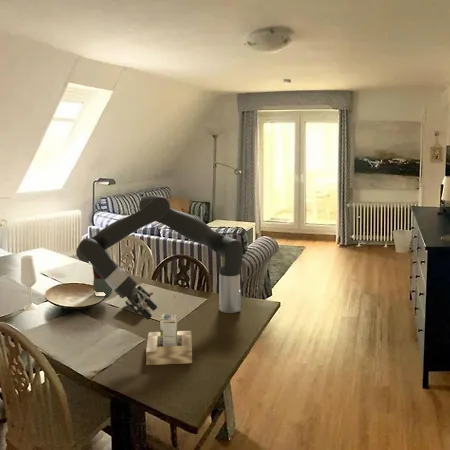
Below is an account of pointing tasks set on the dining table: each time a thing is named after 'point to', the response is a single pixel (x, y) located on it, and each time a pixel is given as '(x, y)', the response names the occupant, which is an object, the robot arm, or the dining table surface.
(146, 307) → the grey slanted panel
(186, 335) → the well block
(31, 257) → the champagne flute
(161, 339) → the syrup box
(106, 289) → the bottle
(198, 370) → the dining table surface
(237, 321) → the dining table surface
